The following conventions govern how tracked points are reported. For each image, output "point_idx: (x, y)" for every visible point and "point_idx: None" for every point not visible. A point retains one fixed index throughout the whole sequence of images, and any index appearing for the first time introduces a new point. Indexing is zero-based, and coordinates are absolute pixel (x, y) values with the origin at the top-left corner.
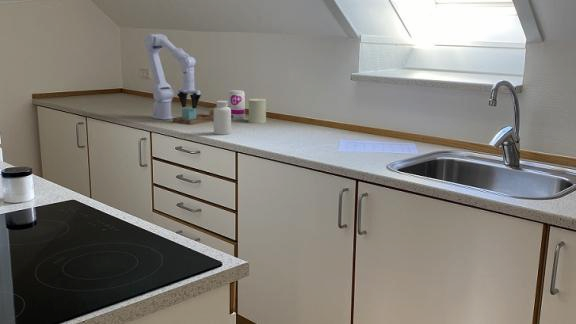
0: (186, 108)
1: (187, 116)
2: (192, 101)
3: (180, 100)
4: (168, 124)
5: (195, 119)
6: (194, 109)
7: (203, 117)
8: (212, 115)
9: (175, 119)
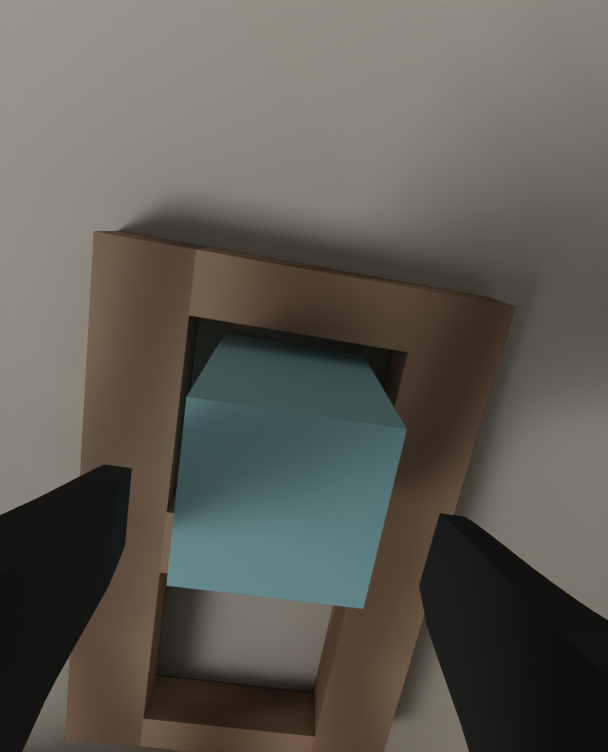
0: (339, 498)
1: (250, 361)
2: (4, 536)
3: (574, 604)
4: (426, 65)
5: (121, 379)
6: (174, 538)
7: (153, 577)
8: (169, 746)
9: (449, 293)
